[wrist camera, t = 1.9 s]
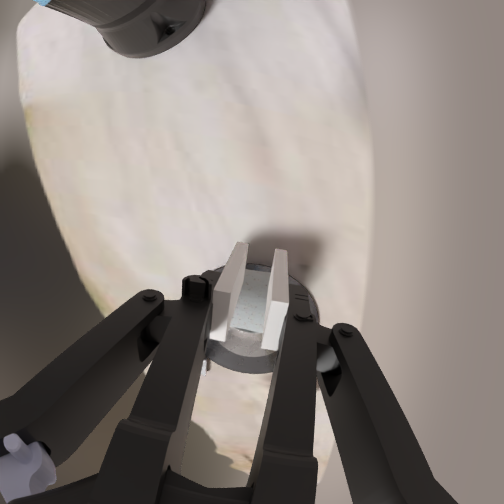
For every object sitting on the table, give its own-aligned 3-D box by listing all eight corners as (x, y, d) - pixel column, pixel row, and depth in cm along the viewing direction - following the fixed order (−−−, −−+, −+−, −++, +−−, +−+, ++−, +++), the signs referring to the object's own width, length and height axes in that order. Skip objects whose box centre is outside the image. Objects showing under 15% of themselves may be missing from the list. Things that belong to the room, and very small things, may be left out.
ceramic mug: (225, 256, 35) (211, 284, 28) (288, 264, 35) (289, 294, 28) (222, 322, 39) (210, 357, 32) (277, 330, 39) (275, 366, 32)
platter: (187, 251, 36) (186, 252, 36) (334, 277, 35) (334, 278, 35) (184, 358, 43) (184, 360, 43) (299, 379, 42) (299, 381, 42)
